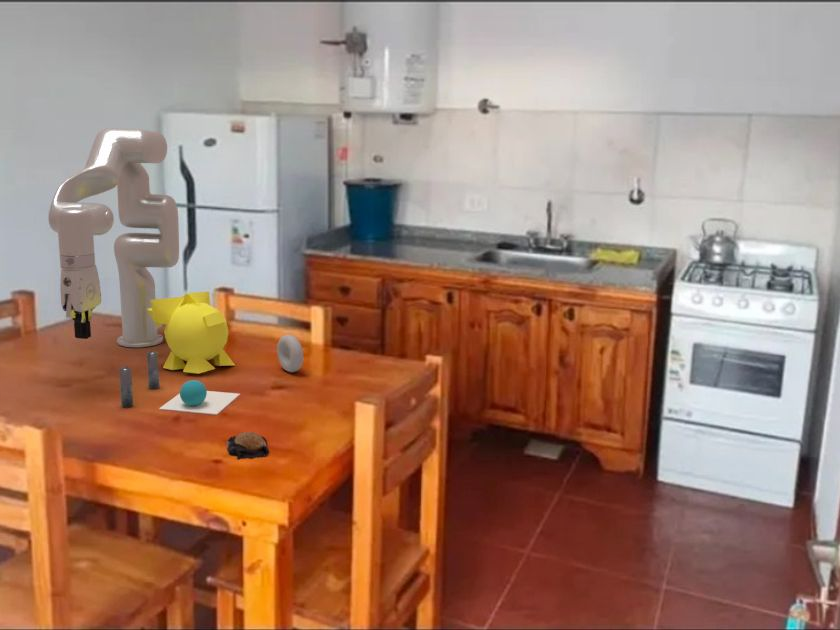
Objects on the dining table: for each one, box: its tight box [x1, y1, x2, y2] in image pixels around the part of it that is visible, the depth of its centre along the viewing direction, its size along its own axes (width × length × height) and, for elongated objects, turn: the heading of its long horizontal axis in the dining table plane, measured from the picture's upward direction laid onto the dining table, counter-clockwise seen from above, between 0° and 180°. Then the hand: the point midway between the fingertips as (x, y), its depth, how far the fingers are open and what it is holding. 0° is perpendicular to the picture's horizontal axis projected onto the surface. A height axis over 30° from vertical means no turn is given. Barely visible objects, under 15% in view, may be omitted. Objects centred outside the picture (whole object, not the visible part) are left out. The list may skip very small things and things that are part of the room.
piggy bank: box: [147, 291, 236, 375], centre depth 226 cm, size 20×20×19 cm
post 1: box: [118, 366, 134, 409], centre depth 197 cm, size 3×3×9 cm
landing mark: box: [158, 390, 241, 416], centre depth 202 cm, size 14×14×1 cm
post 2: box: [146, 350, 161, 390], centre depth 210 cm, size 3×3×9 cm
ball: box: [179, 379, 208, 406], centre depth 199 cm, size 6×6×6 cm
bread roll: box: [226, 431, 270, 460], centre depth 176 cm, size 11×8×4 cm
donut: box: [276, 334, 304, 373], centre depth 225 cm, size 10×4×10 cm, turn 40°
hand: (83, 337), depth 203 cm, fingers closed
